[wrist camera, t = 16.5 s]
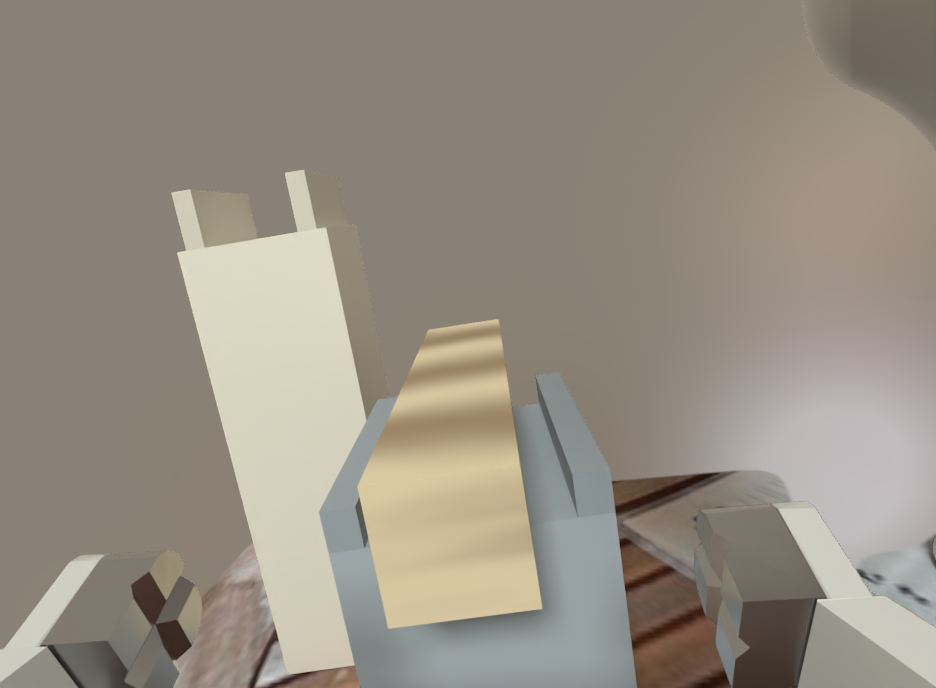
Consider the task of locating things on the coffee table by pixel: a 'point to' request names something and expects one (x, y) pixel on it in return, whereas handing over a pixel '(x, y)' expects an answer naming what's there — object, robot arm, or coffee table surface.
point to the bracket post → (286, 385)
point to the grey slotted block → (557, 562)
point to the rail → (451, 488)
